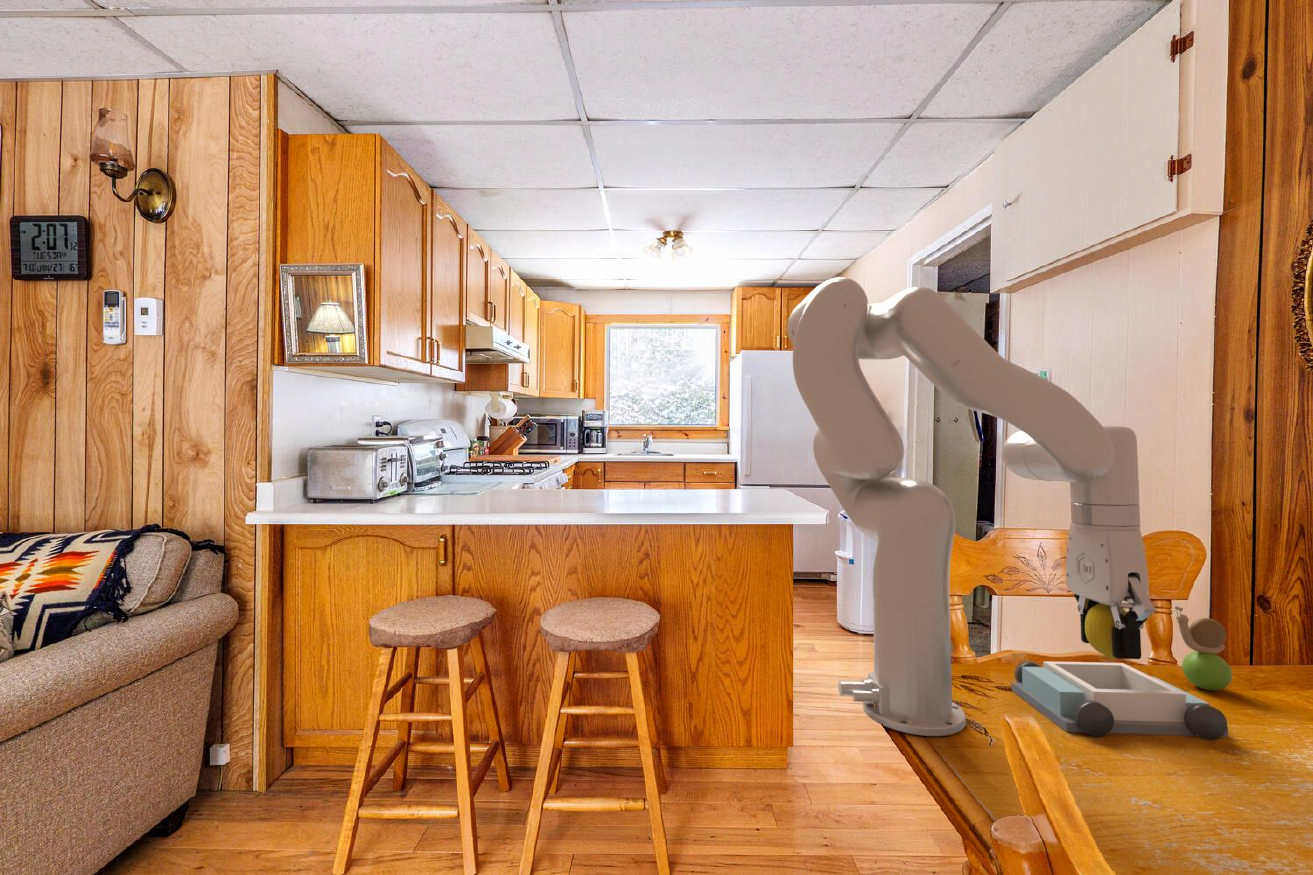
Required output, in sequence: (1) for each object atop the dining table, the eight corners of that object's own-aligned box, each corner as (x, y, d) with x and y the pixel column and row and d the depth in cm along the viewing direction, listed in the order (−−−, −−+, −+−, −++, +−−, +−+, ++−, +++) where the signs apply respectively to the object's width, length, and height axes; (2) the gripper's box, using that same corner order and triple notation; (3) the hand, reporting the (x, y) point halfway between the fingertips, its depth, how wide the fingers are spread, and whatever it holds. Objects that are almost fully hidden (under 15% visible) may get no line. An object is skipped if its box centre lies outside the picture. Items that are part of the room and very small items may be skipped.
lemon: (1147, 668, 76) (1144, 606, 76) (1098, 666, 77) (1096, 605, 77) (1122, 654, 82) (1119, 596, 82) (1077, 652, 83) (1075, 595, 83)
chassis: (1071, 735, 72) (1070, 697, 72) (1007, 687, 87) (1007, 655, 88) (1236, 741, 71) (1235, 701, 71) (1142, 690, 86) (1141, 658, 86)
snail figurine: (1166, 680, 90) (1163, 602, 90) (1213, 682, 89) (1210, 603, 89) (1193, 695, 84) (1190, 611, 85) (1243, 697, 83) (1240, 612, 84)
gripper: (1039, 510, 89) (1044, 631, 88) (1120, 524, 72) (1126, 673, 71) (1091, 510, 88) (1096, 631, 88) (1185, 523, 71) (1192, 674, 71)
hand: (1110, 648), depth 79 cm, fingers closed on lemon, 5 cm apart
